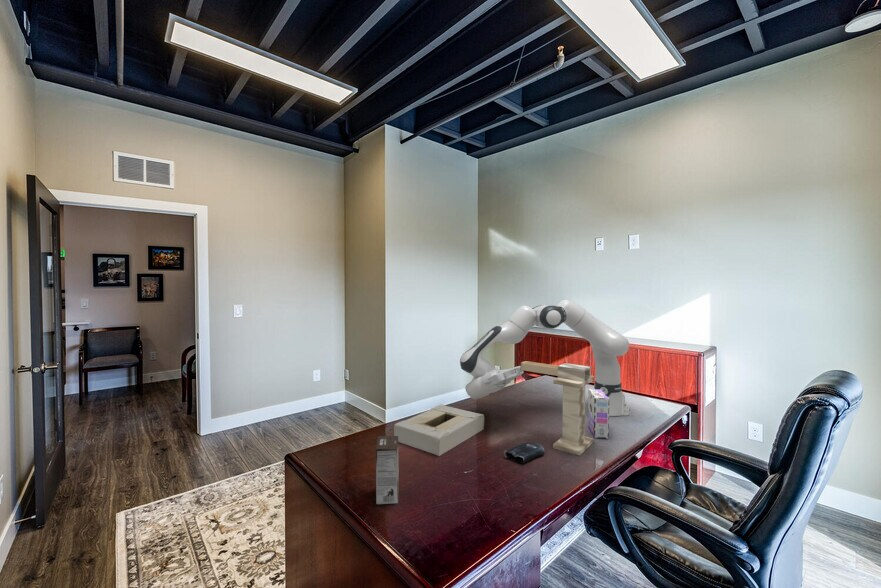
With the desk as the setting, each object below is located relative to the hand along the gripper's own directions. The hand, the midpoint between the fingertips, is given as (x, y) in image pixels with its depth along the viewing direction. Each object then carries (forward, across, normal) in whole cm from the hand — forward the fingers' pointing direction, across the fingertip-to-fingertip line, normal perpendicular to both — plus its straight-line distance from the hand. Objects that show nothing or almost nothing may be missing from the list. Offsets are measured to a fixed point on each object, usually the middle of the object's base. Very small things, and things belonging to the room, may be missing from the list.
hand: (520, 368), depth 161 cm
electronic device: (-2, -19, +30) cm, 35 cm away
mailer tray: (+9, 0, +5) cm, 10 cm away
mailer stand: (+7, 0, +34) cm, 35 cm away
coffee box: (-19, -68, +20) cm, 74 cm away
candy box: (+10, +19, +36) cm, 42 cm away
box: (-34, -24, +12) cm, 43 cm away
